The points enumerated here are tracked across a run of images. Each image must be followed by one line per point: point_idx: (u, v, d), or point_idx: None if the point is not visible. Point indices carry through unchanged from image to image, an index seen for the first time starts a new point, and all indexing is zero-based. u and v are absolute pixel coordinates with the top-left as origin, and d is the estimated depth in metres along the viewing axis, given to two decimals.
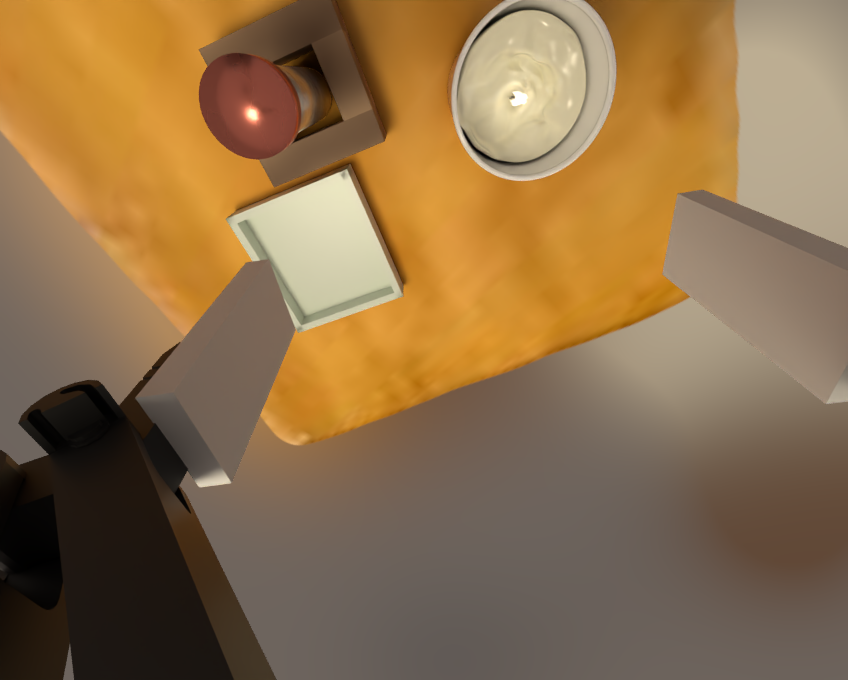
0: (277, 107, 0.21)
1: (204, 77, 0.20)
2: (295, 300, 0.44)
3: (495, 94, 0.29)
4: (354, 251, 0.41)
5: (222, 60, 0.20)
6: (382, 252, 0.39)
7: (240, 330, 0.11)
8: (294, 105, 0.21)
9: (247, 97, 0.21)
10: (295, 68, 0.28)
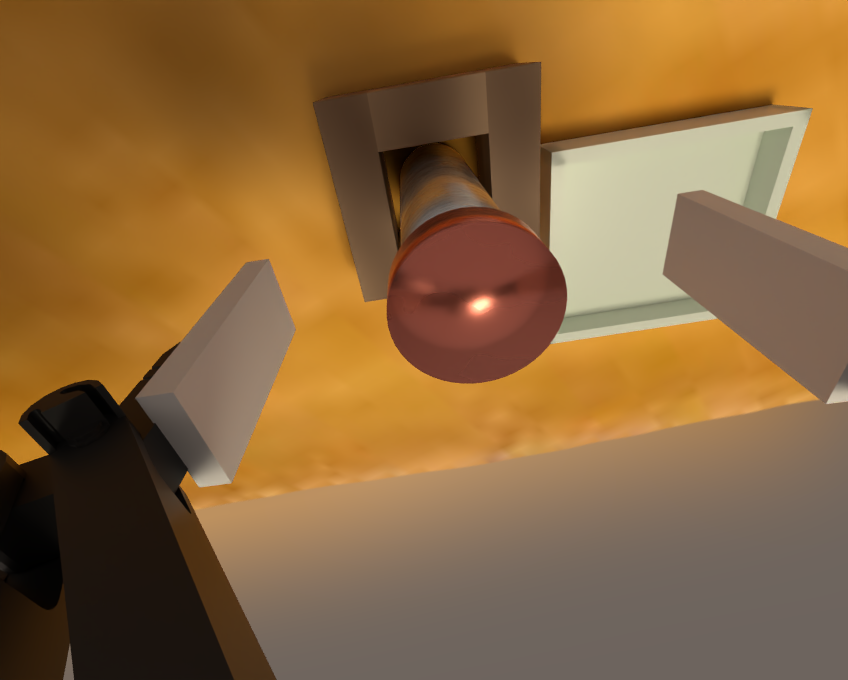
0: (490, 259, 0.10)
1: (412, 360, 0.12)
2: (686, 298, 0.28)
3: None
4: (668, 182, 0.24)
5: (394, 325, 0.11)
6: (709, 128, 0.21)
7: (240, 330, 0.11)
8: (496, 223, 0.10)
9: (458, 307, 0.11)
10: (407, 189, 0.18)
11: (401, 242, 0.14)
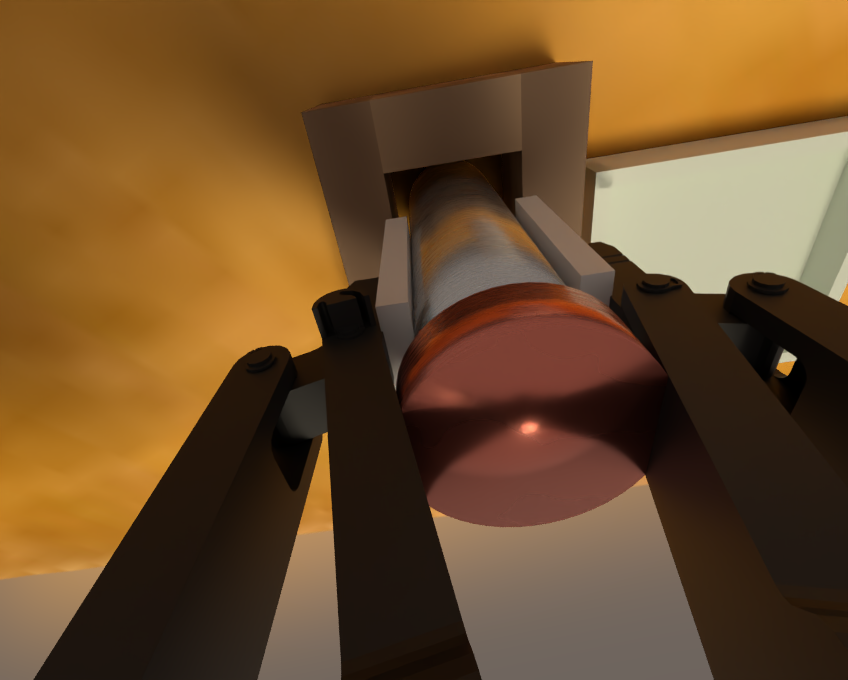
0: (562, 377, 0.06)
1: (432, 502, 0.08)
2: None
3: None
4: (731, 205, 0.20)
5: None
6: (792, 143, 0.17)
7: (410, 269, 0.12)
8: (576, 324, 0.06)
9: (505, 438, 0.07)
10: (420, 222, 0.14)
11: (414, 304, 0.11)
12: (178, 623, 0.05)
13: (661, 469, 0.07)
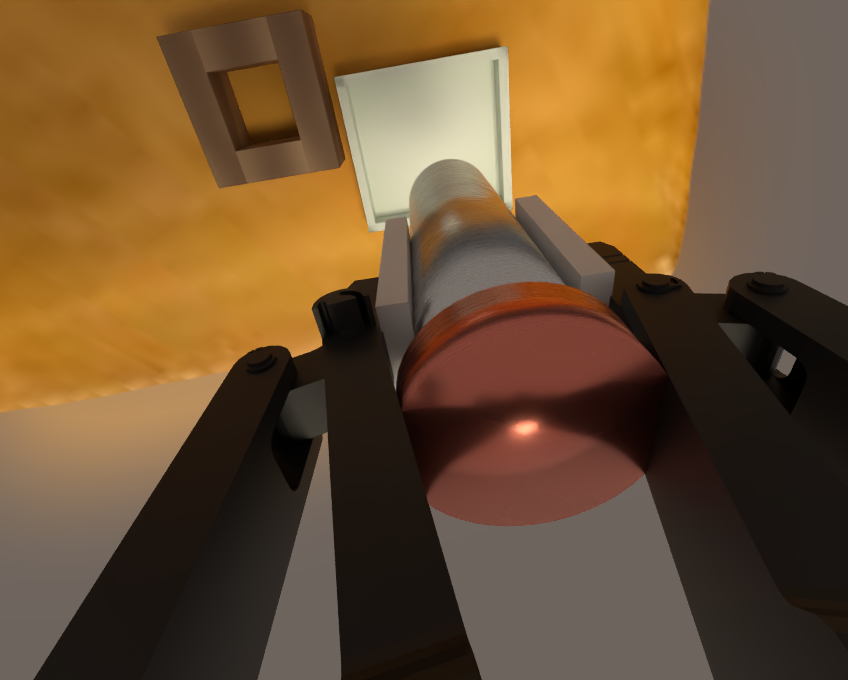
0: (561, 376, 0.06)
1: (432, 501, 0.08)
2: None
3: None
4: (436, 104, 0.33)
5: None
6: (439, 60, 0.30)
7: (410, 269, 0.12)
8: (575, 323, 0.06)
9: (505, 437, 0.07)
10: (420, 222, 0.14)
11: (413, 304, 0.11)
12: (178, 623, 0.05)
13: (661, 469, 0.07)
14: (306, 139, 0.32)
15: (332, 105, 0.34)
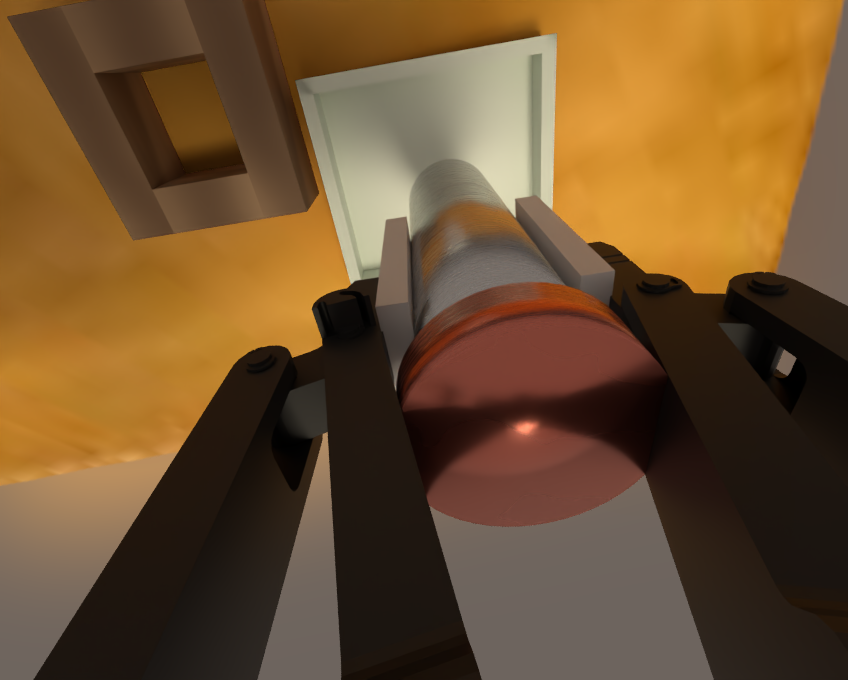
0: (562, 376, 0.06)
1: (432, 502, 0.08)
2: None
3: None
4: (446, 119, 0.23)
5: None
6: (453, 54, 0.20)
7: (410, 269, 0.12)
8: (575, 323, 0.06)
9: (505, 438, 0.07)
10: (420, 222, 0.14)
11: (414, 304, 0.11)
12: (178, 623, 0.05)
13: (661, 469, 0.07)
14: (256, 172, 0.21)
15: (297, 120, 0.23)
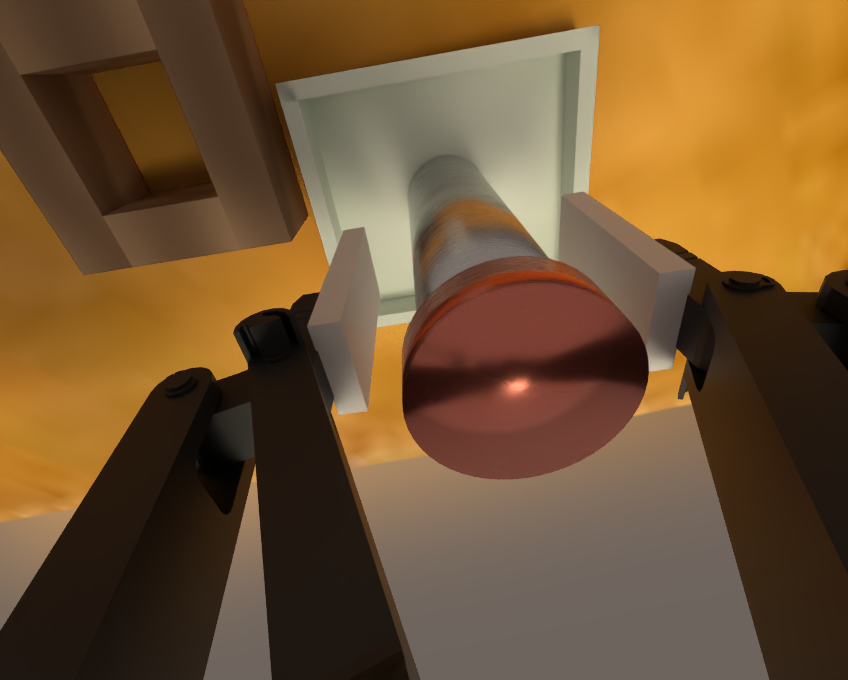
0: (548, 335, 0.07)
1: (435, 455, 0.09)
2: None
3: None
4: (460, 130, 0.19)
5: (413, 416, 0.08)
6: (471, 51, 0.16)
7: (359, 283, 0.12)
8: (559, 287, 0.07)
9: (500, 393, 0.08)
10: (420, 212, 0.15)
11: (416, 285, 0.12)
12: (95, 664, 0.04)
13: (732, 471, 0.07)
14: (228, 195, 0.17)
15: (281, 131, 0.20)
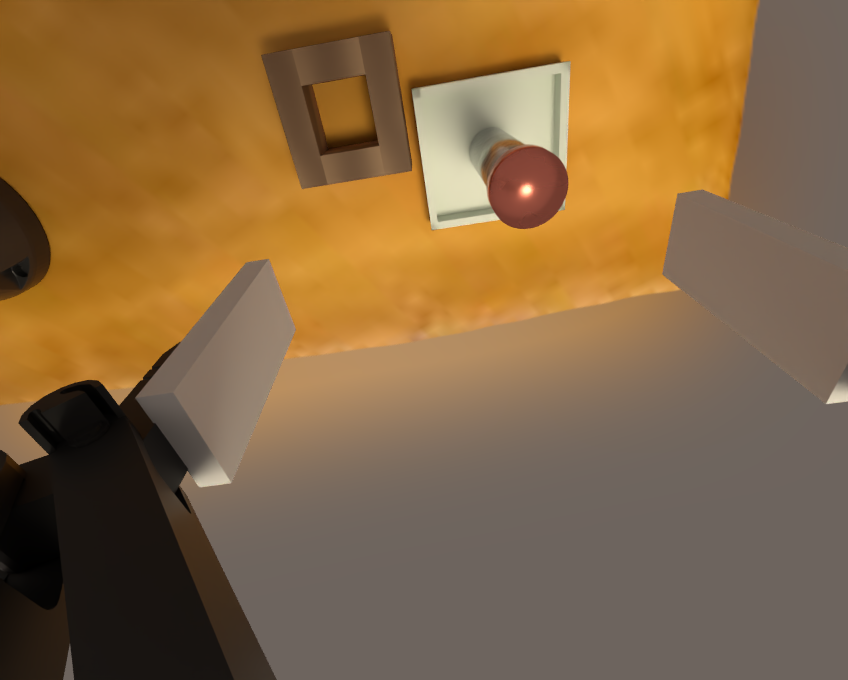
0: (536, 164, 0.24)
1: (498, 215, 0.26)
2: None
3: None
4: (499, 113, 0.37)
5: (492, 196, 0.25)
6: (507, 74, 0.34)
7: (241, 330, 0.11)
8: (539, 148, 0.24)
9: (521, 187, 0.25)
10: (483, 148, 0.32)
11: (486, 170, 0.29)
12: None
13: None
14: (384, 145, 0.35)
15: (404, 114, 0.37)
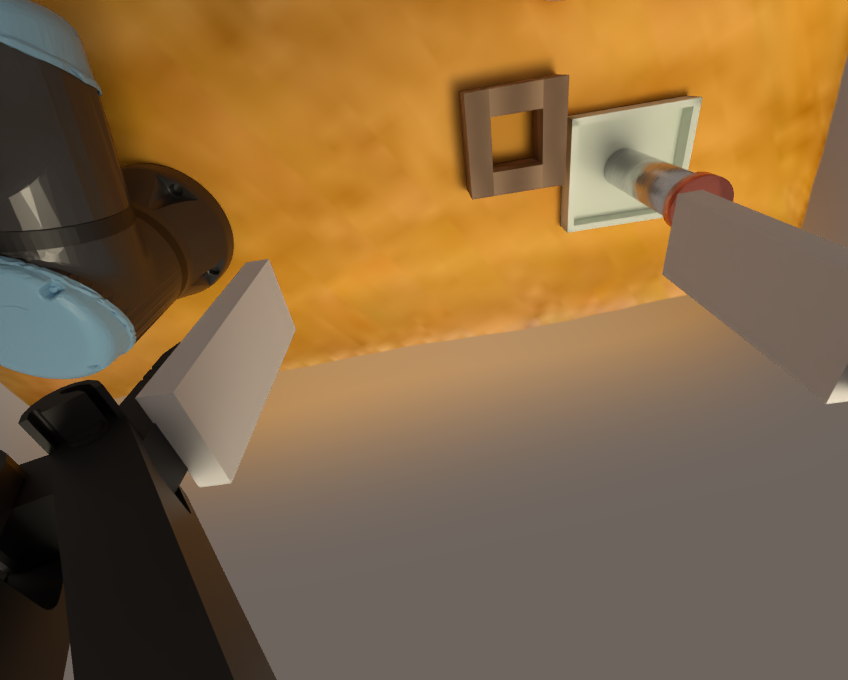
0: (712, 187, 0.33)
1: None
2: (647, 208, 0.49)
3: None
4: (634, 137, 0.45)
5: None
6: (651, 107, 0.42)
7: (241, 330, 0.11)
8: (716, 175, 0.32)
9: None
10: (636, 169, 0.40)
11: (652, 188, 0.37)
12: None
13: None
14: (546, 164, 0.43)
15: None
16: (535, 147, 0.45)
